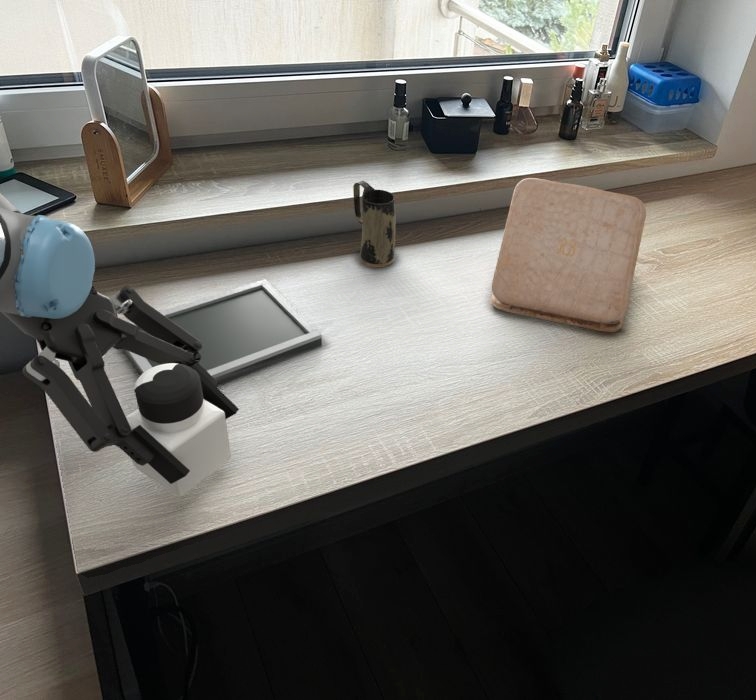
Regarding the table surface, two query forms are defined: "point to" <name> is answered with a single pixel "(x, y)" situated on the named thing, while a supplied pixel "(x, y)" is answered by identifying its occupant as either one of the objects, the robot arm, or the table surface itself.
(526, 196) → the case
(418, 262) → the table surface
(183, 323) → the chalkboard
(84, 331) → the robot arm
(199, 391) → the medicine bottle
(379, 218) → the mug
